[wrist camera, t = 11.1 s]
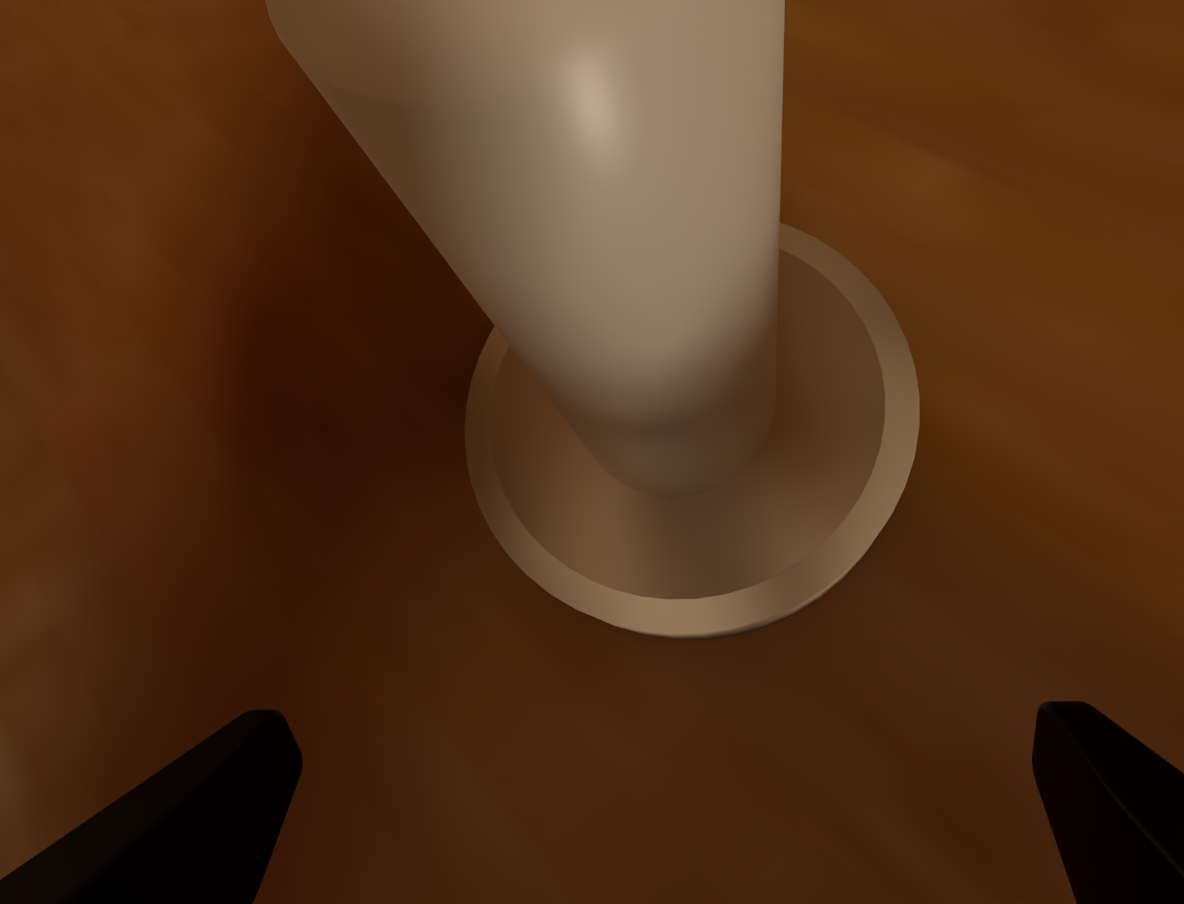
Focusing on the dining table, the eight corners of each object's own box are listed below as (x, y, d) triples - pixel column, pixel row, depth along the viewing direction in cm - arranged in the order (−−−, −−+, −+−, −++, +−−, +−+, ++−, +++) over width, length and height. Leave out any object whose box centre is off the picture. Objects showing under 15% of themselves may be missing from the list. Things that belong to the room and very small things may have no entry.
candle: (684, 538, 17) (445, 106, 5) (540, 417, 19) (91, -123, 7) (818, 384, 18) (947, -408, 5) (665, 281, 20) (473, -477, 7)
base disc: (592, 719, 19) (570, 723, 17) (439, 370, 23) (406, 338, 21) (1000, 506, 18) (1031, 481, 16) (760, 189, 23) (759, 138, 21)
